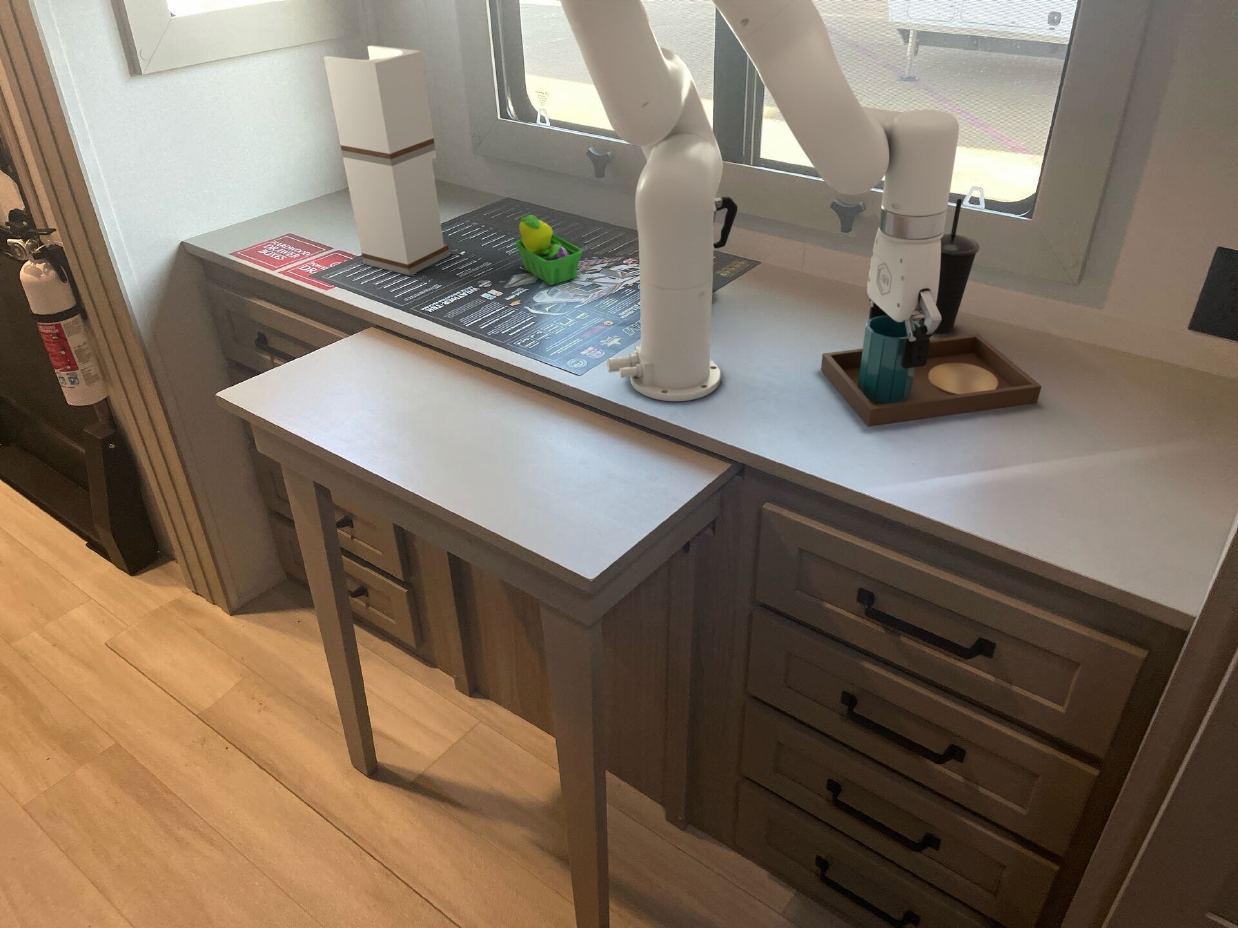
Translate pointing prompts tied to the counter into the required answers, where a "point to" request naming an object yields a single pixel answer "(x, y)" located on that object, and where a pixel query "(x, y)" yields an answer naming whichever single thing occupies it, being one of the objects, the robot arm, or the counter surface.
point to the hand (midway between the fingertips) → (895, 349)
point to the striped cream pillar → (388, 156)
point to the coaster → (961, 378)
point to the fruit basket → (546, 252)
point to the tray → (927, 397)
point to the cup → (885, 361)
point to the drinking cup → (953, 273)
